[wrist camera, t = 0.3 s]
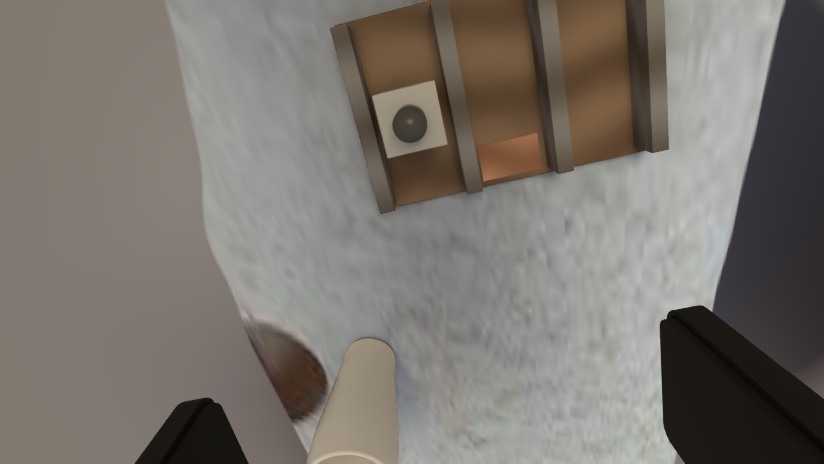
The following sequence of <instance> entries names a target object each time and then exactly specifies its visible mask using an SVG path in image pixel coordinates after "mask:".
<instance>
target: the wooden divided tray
mask: <svg viewBox="0 0 824 464" xmlns="http://www.w3.org/2000/svg"><path fill="white" fill-rule="evenodd" d="M330 30H331V34H332V38H333V41H334V45H335V49H336V52H337V56H338V60H339V63H340V67H341V71H342V74H343V78H344V82H345V86H346V89H347V93H348V97H349V100H350V104H351V108H352V111H353V115H354V119H355V122H356V126H357V130H358V133H359V137H360V141H361V145H362V148H363V152H364V156H365V159H366V163H367V167H368V170H369V174H370V178H371V181H372V185H373V189H374V192H375V196H376V200H377V204H378V207H379V211H380V214H382V213H387V212H391V211H395V207H396V206H400V205H405V204H409V203H414V202H418V201H423V200H427V199H432V198H436V197H440V196H445V195H449V194H454V193H458V192H463V191H467V193H468V194H472V193H476V192H481V191H483V189H482V187H485V186H489V185H494V184H498V183H503V182H507V181H512V180H516V179H521V178H525V177H530V176H534V175H539V174H543V173H547V172H552V171H555V172H556V173H558V174H561V173H566V172H570V171H574V166H579V165H583V164H588V163H592V162H596V161H601V160H605V159H610V158H614V157H619V156H623V155H628V154H632V153H637V152H641V151H648V152H651V153H655V152H659V151H664V150H668V149H669V139H668V107H667V76H666V44H665V13H664V0H430V1H426V2H423V3H419V4H415V5H411V6H408V7H404V8H400V9H396V10H392V11H389V12H385V13H381V14H377V15H373V16H370V17H366V18H362V19H358V20H354V21H351V22H347V23H343V24H339V25H336V26H334V27H332V28H330ZM429 80H435V85H436V90H437V95H438V100H439V105H440V110H441V115H442V120H443V125H444V129H445V134H446V139H447V145H442V146H438V147H434V148H429V149H425V150H421V151H417V152H412V153H408V154H404V155H400V156H395V157H391V158H388V157H387V154H386V150H385V146H384V142H383V138H382V134H381V130H380V126H379V122H378V118H377V114H376V110H375V106H374V102H373V98H372V96H373V95H376V94H378V93H381V92H385V91H389V90H393V89H397V88H401V87H405V86H409V85H413V84H417V83H421V82H425V81H429Z"/></svg>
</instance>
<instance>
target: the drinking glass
mask: <svg viewBox="0 0 824 464" xmlns="http://www.w3.org/2000/svg"><path fill="white" fill-rule="evenodd" d="M395 365H396V361H395V356H394V353H393V351H392V349H391V348H390V347H389V346H388V345H387V344H386V343H384V342H383V341H380V340H378V339H374V338H364V339H360V340H357V341H355V342H354V343H352V344H351V345H350V346H349V347H348V348H347V350H346V352H345V354H344V357H343V361H342V365H341V367H340V370H339V372H338V375H337V378H336V380H335V383H334V385H333V388H332V390H331V393H330V395H329V398H328V400H327V403H326V405H325V408H324V410H323V413H322V415H321V418H320V420H319V423H318V425H317V428H316V431H315V434H314V437H313V440H312V444H311V447H310V451H309V455H308V459H307V463H306V464H398V458H399V433H398V416H397V400H396V383H395Z"/></svg>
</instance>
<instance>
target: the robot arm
mask: <svg viewBox="0 0 824 464" xmlns="http://www.w3.org/2000/svg"><path fill="white" fill-rule="evenodd" d="M660 345H661V373H662V400H663V424H664V429H665V432H666V435H667V437H668V439H669V441H670V443H671V444H672V446H673V447H674V448H675V450H676V451H677V453H678V454H679V456H680V457H681V458H682V460H683V461H684V463H685V464H824V399H823V398H822V397H821V396H819V395H818V394H817V393H815V392H814V391H813V390H812V389H810V388H809V387H808V386H806V385H805V384H804V383H803V382H801V381H800V380H799V379H798V378H796V377H795V376H794V375H792V374H791V373H789V372H788V371H787V370H785V369H784V368H783V367H782V366H780V365H779V364H778V363H776V362H775V361H774V360H773V359H771V358H770V357H769V356H767V355H766V354H765V353H764V352H762V351H761V350H760V349H759V348H757V347H756V346H755V345H753V344H752V343H751V342H750V341H748V340H747V339H746V338H744V337H743V336H742V335H741V334H739V333H738V332H736V330H734V329H733V328H732V327H730V326H729V325H728V324H727V323H725V322H724V321H723V320H721V319H720V318H719V317H718V316H716V315H715V314H714V313H712V312H711V311H710V310H709V309H707V308H706V307H704V306H700V305H698V306H693V307H688V308H682V309H677V310H672V311H670V312H669V313H668V315H667V319H664V320H662V321H661V323H660ZM135 464H248V461H247V459H246V457H245V455H244V453H243V451H242V449H241V446H240V444H239V442H238V440H237V438H236V436H235V434H234V432H233V429H232V427H231V425H230V423H229V421H228V419H227V417H226V414H225V412H224V410H223V408H222V406H221V405H220V404H218V403H214V401H213V400H212V399H210V398H202V399H196V400H191V401H186V402H182V403H180V404H179V405H178V406H177V407H176V408H175V409H174V410H173V412H172V413H171V415H170V416H169V417H168V419H167V420H166V421H165V423H164V424H163V426H162V427H161V428H160V430H159V431H158V432H157V434H156V435H155V436H154V438H153V439H152V441H151V442H150V443H149V445H148V446H147V447H146V449H145V450H144V452H143V453H142V454H141V456H140V457H139V459H138V460H137V461H136V463H135Z"/></svg>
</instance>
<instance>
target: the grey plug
mask: <svg viewBox="0 0 824 464" xmlns="http://www.w3.org/2000/svg"><path fill="white" fill-rule="evenodd" d="M372 98H373V102H374V106H375V110H376V114H377V118H378V122H379V126H380V130H381V134H382V138H383V142H384V146H385V150H386V154H387V157H388V158H391V157H395V156H400V155H404V154H408V153H412V152H417V151H421V150H425V149H429V148H434V147H438V146H442V145H447V139H446V134H445V129H444V125H443V120H442V115H441V110H440V105H439V100H438V95H437V90H436V85H435V80H429V81H425V82H421V83H417V84H413V85H409V86H405V87H401V88H397V89H393V90H389V91H385V92H381V93H378V94H376V95H373V96H372Z"/></svg>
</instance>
